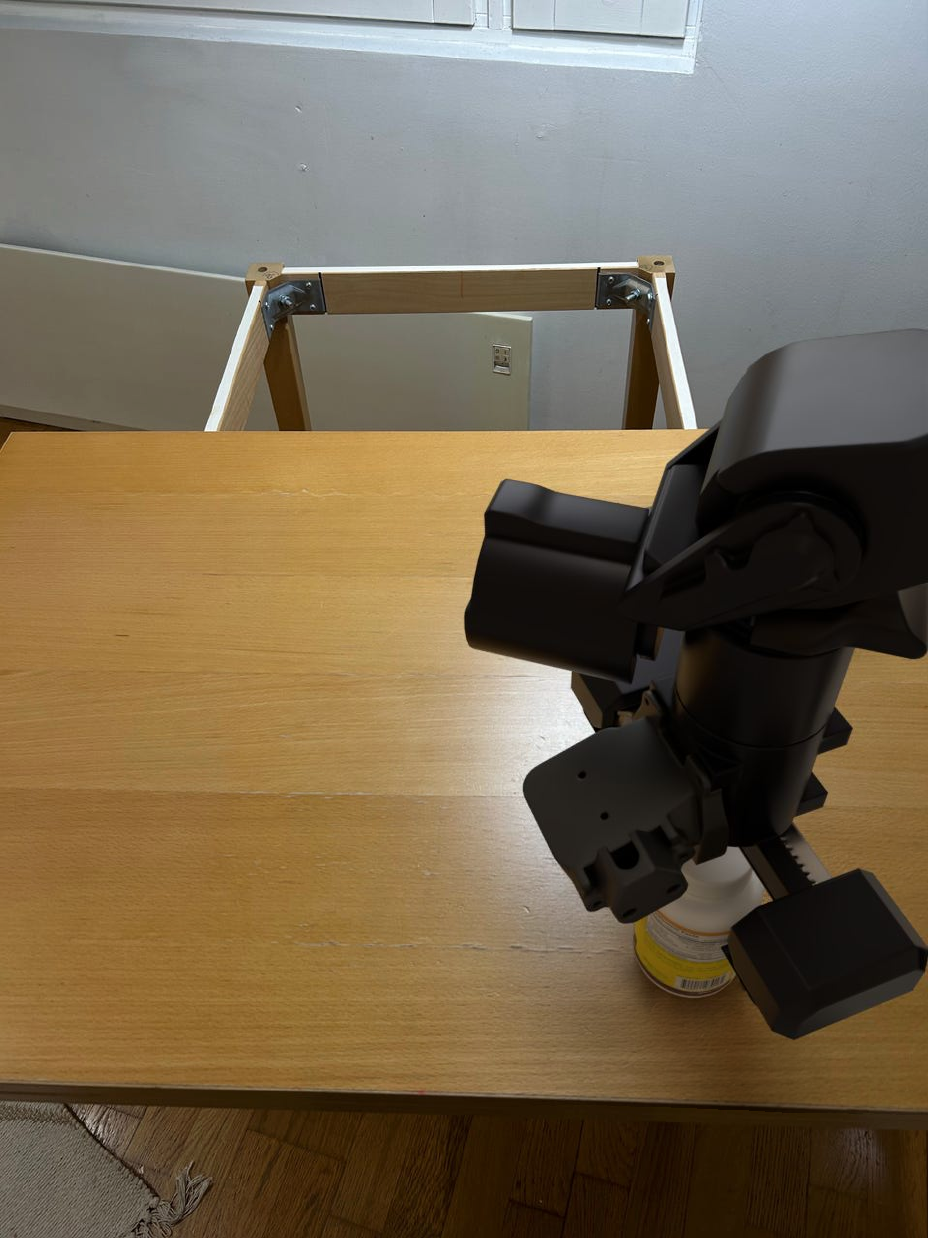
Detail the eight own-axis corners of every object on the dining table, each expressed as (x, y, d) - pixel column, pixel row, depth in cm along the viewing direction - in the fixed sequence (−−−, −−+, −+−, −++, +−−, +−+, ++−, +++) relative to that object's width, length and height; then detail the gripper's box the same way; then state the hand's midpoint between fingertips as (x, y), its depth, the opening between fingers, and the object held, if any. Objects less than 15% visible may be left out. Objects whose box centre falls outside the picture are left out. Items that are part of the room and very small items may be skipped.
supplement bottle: (675, 882, 54) (699, 772, 47) (761, 951, 51) (800, 845, 44) (608, 950, 51) (622, 844, 44) (694, 1026, 48) (724, 927, 41)
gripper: (461, 582, 41) (475, 798, 52) (682, 996, 28) (637, 1163, 39) (700, 515, 43) (664, 735, 54) (1002, 869, 30) (874, 1061, 42)
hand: (699, 898), depth 47 cm, fingers open, 9 cm apart
